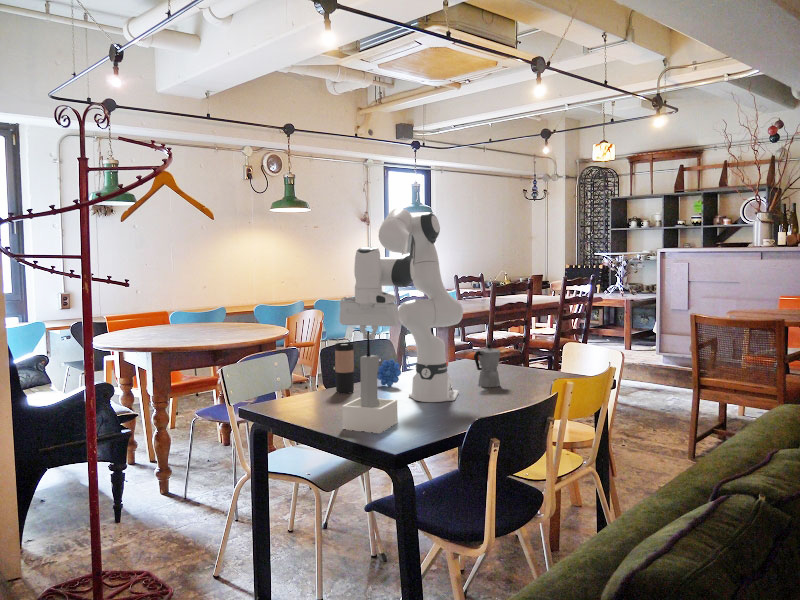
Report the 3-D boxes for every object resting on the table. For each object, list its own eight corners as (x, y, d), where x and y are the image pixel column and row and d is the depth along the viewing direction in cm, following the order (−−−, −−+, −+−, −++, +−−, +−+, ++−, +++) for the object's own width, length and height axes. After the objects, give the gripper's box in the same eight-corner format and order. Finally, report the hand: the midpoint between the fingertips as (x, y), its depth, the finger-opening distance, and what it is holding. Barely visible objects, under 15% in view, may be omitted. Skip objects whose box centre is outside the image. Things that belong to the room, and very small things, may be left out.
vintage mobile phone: (379, 406, 214) (379, 330, 212) (368, 408, 210) (367, 331, 209) (372, 404, 216) (371, 330, 215) (360, 407, 213) (360, 331, 212)
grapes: (406, 385, 279) (405, 358, 278) (398, 388, 273) (397, 360, 272) (382, 383, 285) (382, 356, 284) (374, 386, 279) (374, 358, 278)
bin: (361, 419, 223) (360, 397, 223) (397, 423, 218) (397, 400, 217) (342, 429, 211) (342, 405, 210) (380, 433, 206) (380, 409, 205)
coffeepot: (491, 382, 285) (491, 341, 284) (507, 385, 278) (507, 343, 277) (466, 386, 276) (466, 344, 274) (482, 390, 268) (482, 347, 267)
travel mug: (332, 393, 266) (331, 344, 265) (340, 389, 273) (339, 342, 272) (350, 394, 264) (349, 345, 262) (357, 390, 271) (356, 342, 270)
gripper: (335, 297, 213) (336, 339, 214) (392, 298, 205) (393, 341, 206) (344, 296, 218) (345, 337, 219) (400, 296, 210) (401, 339, 211)
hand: (369, 339), depth 212 cm, fingers closed on vintage mobile phone
